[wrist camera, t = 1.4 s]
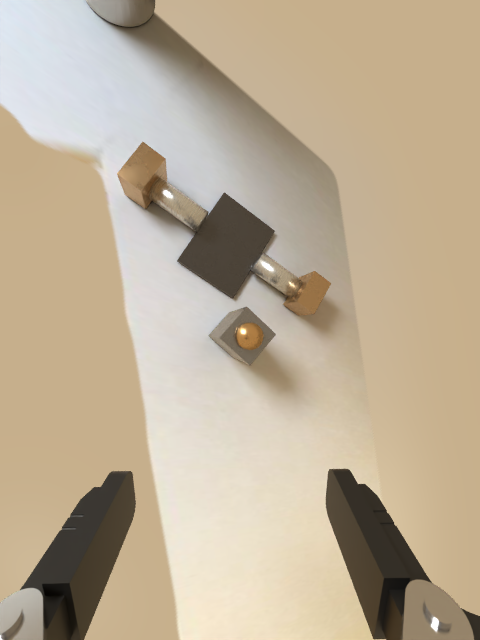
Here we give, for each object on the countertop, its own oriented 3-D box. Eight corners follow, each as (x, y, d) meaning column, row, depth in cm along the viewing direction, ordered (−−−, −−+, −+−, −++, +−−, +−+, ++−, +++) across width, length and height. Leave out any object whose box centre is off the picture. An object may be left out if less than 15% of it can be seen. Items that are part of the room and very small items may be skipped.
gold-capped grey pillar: (231, 356, 34) (252, 366, 25) (208, 335, 34) (220, 338, 24) (251, 333, 35) (278, 334, 26) (229, 312, 35) (248, 305, 25)
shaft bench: (108, 215, 31) (98, 197, 27) (162, 147, 33) (159, 120, 29) (287, 335, 37) (302, 335, 32) (324, 270, 39) (342, 263, 34)
